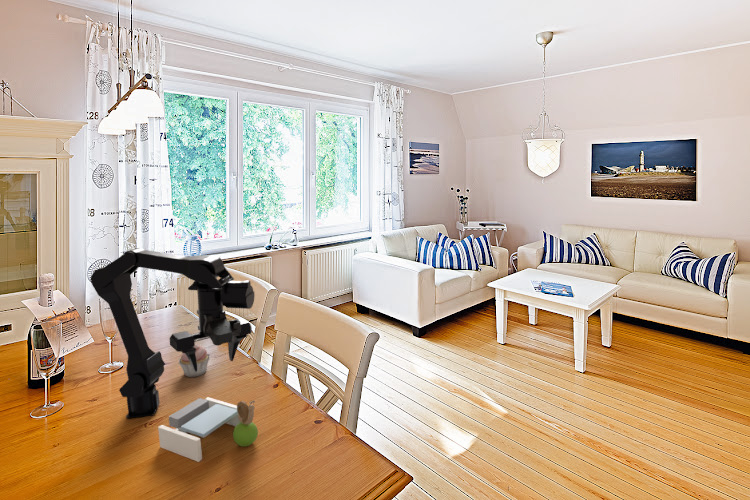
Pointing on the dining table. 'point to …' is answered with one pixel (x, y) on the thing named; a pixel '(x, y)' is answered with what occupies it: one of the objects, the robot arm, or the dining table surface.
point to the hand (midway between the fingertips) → (214, 365)
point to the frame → (189, 436)
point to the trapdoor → (201, 417)
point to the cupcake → (201, 360)
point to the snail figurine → (245, 425)
